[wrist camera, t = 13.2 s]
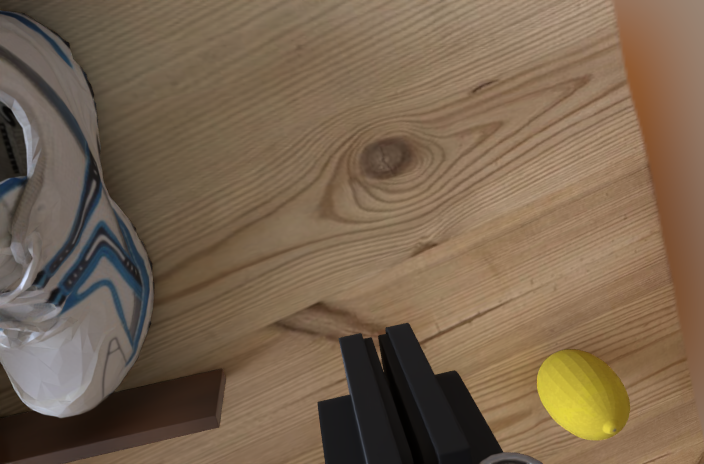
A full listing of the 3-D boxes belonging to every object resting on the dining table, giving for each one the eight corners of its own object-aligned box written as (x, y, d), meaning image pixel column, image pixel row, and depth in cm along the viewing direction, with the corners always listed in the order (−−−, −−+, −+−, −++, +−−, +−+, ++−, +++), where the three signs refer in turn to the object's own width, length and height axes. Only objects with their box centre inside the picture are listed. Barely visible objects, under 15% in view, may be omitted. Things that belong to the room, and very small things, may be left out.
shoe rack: (94, -54, 27) (47, -81, 21) (226, 379, 37) (218, 438, 31) (-253, -2, 25) (-402, -16, 20) (-17, 434, 35) (-71, 506, 30)
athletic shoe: (37, 393, 34) (-9, 531, 24) (-140, 38, 26) (-330, 7, 16) (186, 340, 37) (203, 442, 27) (66, 7, 29) (24, -38, 19)
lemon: (560, 317, 39) (628, 380, 32) (596, 358, 41) (668, 426, 34) (506, 363, 40) (559, 435, 32) (544, 401, 42) (602, 477, 34)
